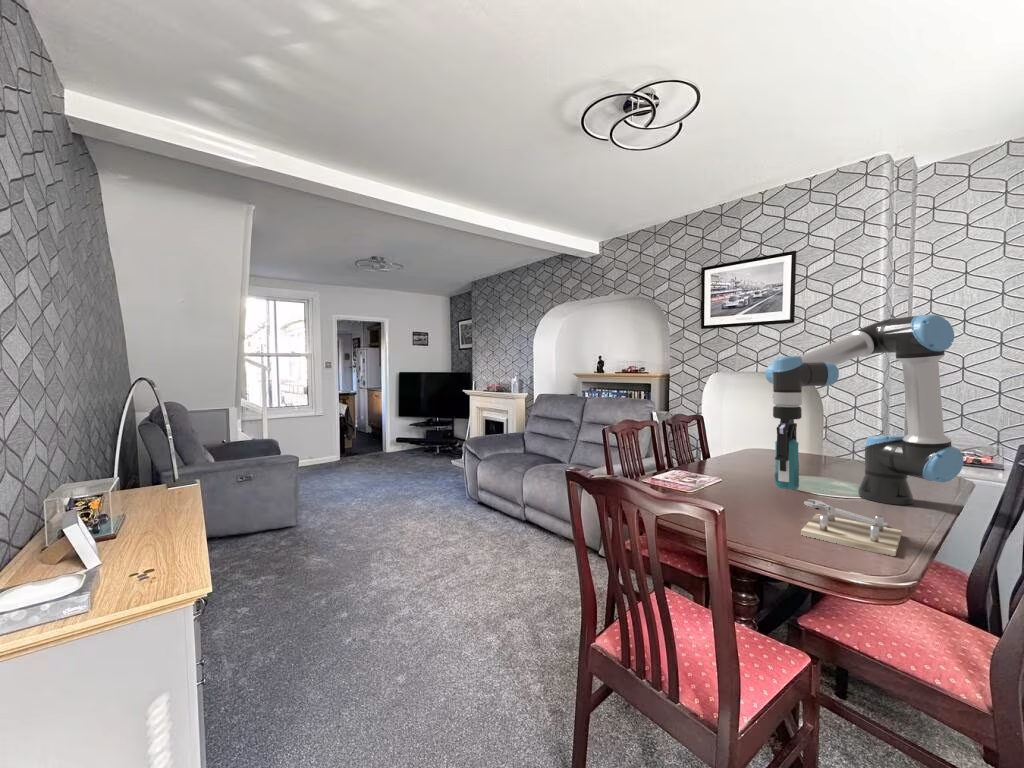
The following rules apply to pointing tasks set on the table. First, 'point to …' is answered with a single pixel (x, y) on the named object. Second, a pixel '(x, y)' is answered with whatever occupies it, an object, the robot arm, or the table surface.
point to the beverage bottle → (793, 466)
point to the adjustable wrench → (841, 512)
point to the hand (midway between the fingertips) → (786, 478)
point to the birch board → (854, 535)
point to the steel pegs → (873, 528)
